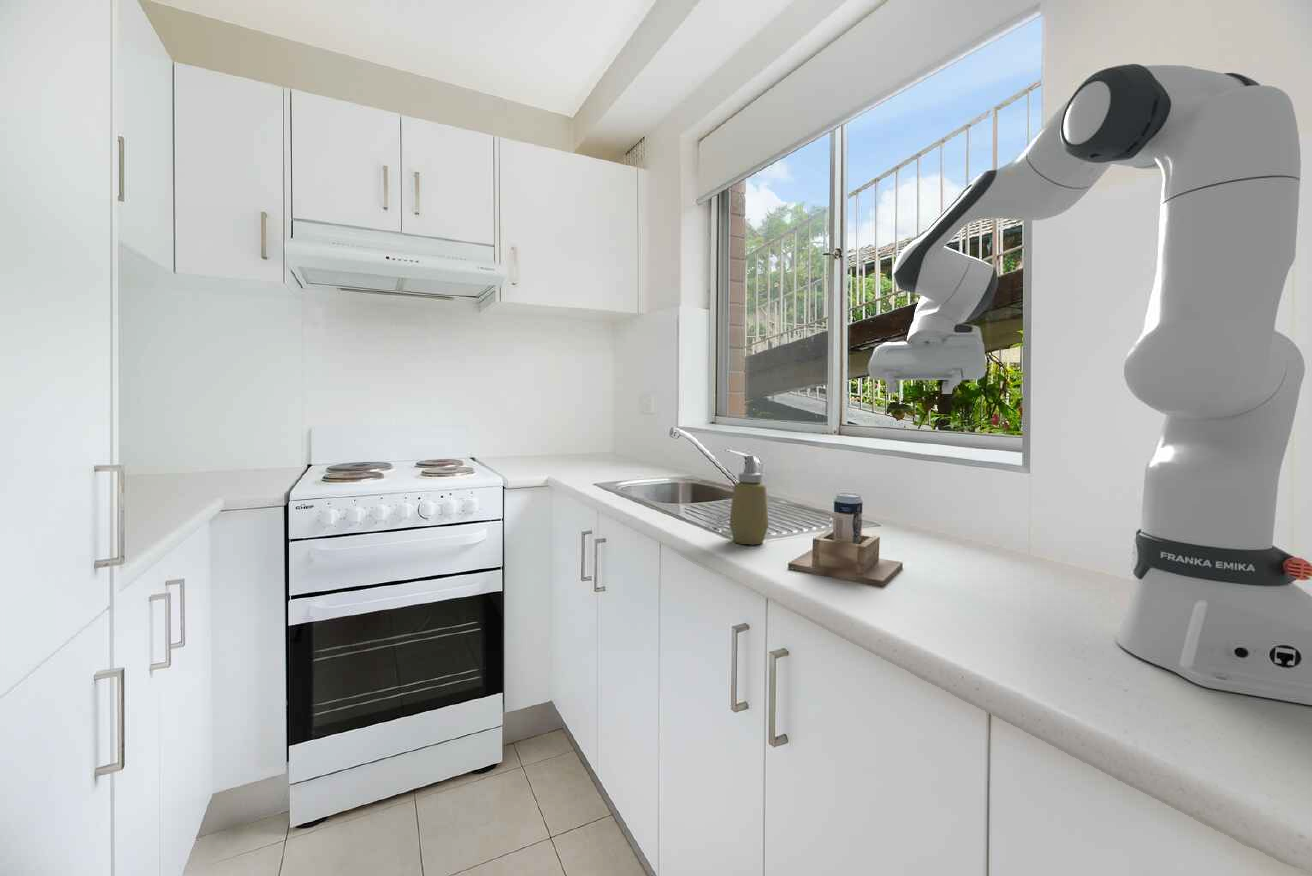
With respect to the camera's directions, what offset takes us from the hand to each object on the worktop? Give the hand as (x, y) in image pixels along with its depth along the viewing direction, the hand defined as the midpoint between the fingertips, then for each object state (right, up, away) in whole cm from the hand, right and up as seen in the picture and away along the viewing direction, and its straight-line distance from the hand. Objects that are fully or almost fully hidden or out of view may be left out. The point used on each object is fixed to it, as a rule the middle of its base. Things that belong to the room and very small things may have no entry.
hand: (918, 391), depth 105 cm
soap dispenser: (-29, -30, +14) cm, 44 cm away
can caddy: (-15, -32, -4) cm, 35 cm away
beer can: (-14, -31, -4) cm, 34 cm away
